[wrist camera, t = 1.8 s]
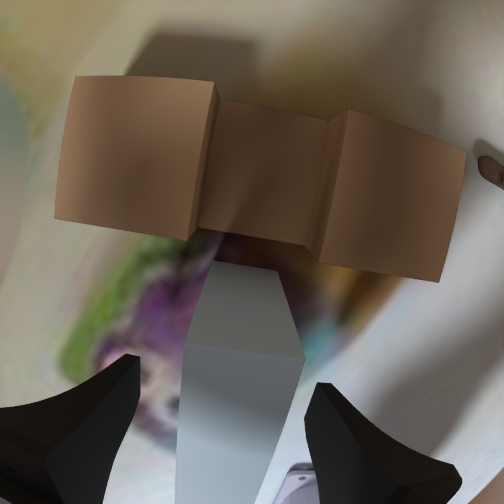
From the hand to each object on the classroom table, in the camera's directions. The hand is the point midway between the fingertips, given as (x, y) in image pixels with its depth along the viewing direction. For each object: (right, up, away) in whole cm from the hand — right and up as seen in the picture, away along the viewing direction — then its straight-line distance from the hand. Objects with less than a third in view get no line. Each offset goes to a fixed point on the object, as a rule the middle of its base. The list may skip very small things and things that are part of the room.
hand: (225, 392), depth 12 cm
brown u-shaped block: (+1, +9, +1) cm, 9 cm away
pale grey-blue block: (0, +1, +3) cm, 3 cm away
